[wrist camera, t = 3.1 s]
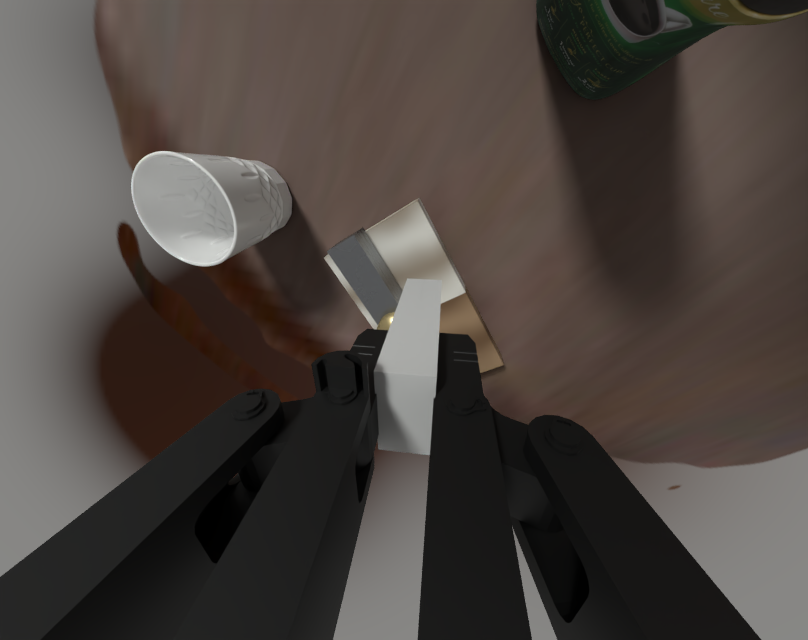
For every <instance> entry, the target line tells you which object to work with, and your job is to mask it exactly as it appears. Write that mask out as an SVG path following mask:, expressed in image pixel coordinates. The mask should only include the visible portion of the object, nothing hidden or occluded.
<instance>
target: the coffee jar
mask: <svg viewBox="0 0 808 640" xmlns="http://www.w3.org/2000/svg"><path fill="white" fill-rule="evenodd" d="M536 8H537V11H536V12H537V19H538V23H539V26H540V29H541V32H542V35H543V37H544V40H545V43H546V45H547V47H548V50H549V52H550V54H551V56H552V58H553V60H554V61H555V63H556V65H557V67H558V69H559V70H560V72H561V74H562V75H563V77H564V78H565V80H566V81H567V83H568V84H569V85H570V86H571V87H572V89H573V90H574V91H575V92H576V93H577V94H578V95H580V96H581V97H584V98H587V99H593V100H596V99H602V98H605V97H609V96H611V95H613V94H615V93H617V92H619V91H621V90H623V89H625V88H626V87H628V86H630V85H632V84H633V83H635V82H636V81H638V80H640V79H641V78H643V77H644V76H646V75H647V74H649V73H650V72H652V71H653V70H655V69H656V68H658V67H659V66H661V65H662V64H664V63H665V62H667V61H668V60H670V59H671V58H673V57H674V56H676V55H677V54H679V53H680V52H682V51H683V50H685V49H686V48H688V47H690V46H691V45H693V44H694V43H696V42H698V41H699V40H701V39H702V38H704V37H706V36H708V35H709V34H711V33H713V32H715V31H717V30H719V29H721V28H724V27H726V26H731V25H757V24H766V23H771V22H776V21H780V20H784V19H787V18H791V17H794V16H796V15H799V14H802V13H805V12H807V11H808V0H537V4H536Z"/></svg>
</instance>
